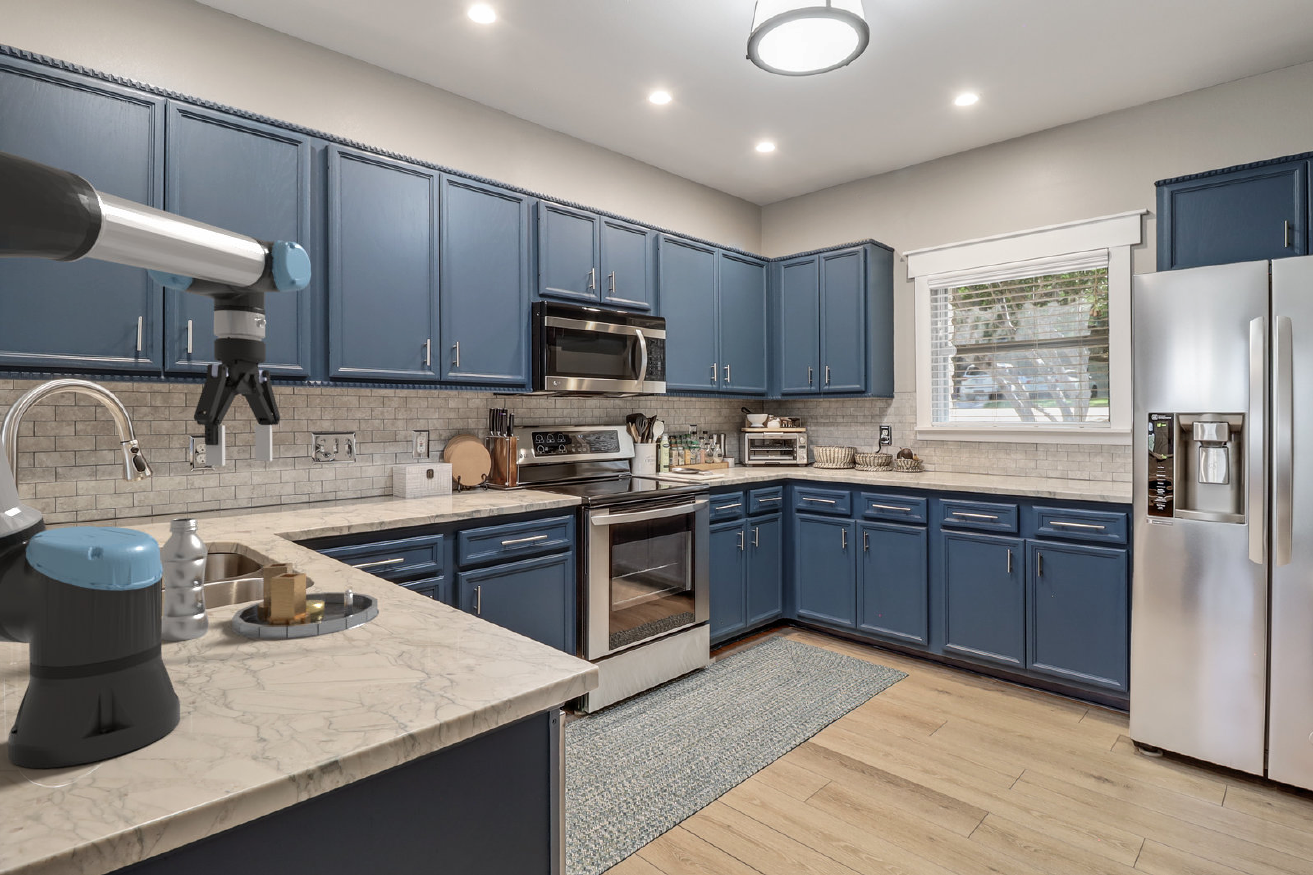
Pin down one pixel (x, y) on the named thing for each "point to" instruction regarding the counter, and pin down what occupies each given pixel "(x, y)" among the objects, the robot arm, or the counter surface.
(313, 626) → the bowl
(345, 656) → the counter surface
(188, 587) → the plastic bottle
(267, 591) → the tan square tube
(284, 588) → the hollow wooden square post
